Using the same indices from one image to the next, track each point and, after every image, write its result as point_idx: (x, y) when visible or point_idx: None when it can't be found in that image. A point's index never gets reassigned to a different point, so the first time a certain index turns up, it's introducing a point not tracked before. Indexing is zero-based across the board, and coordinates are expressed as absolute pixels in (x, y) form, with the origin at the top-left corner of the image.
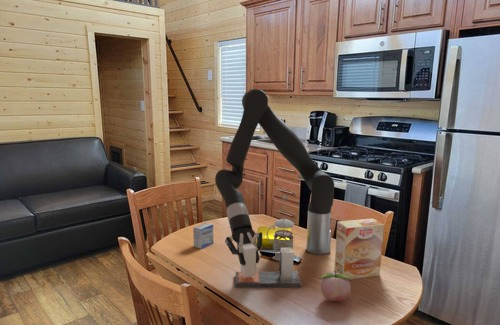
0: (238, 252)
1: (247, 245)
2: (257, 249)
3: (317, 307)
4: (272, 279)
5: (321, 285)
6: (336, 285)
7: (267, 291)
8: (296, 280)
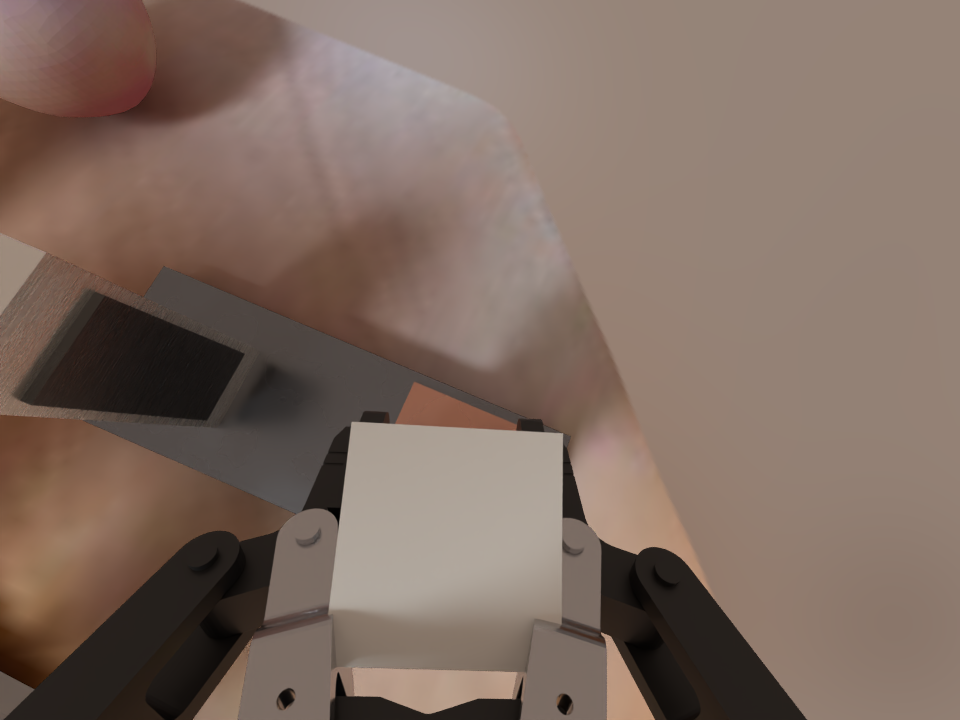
0: (597, 552)
1: (448, 586)
2: (293, 521)
3: (243, 96)
4: (309, 382)
5: (113, 16)
6: None
7: (397, 319)
8: (167, 305)
